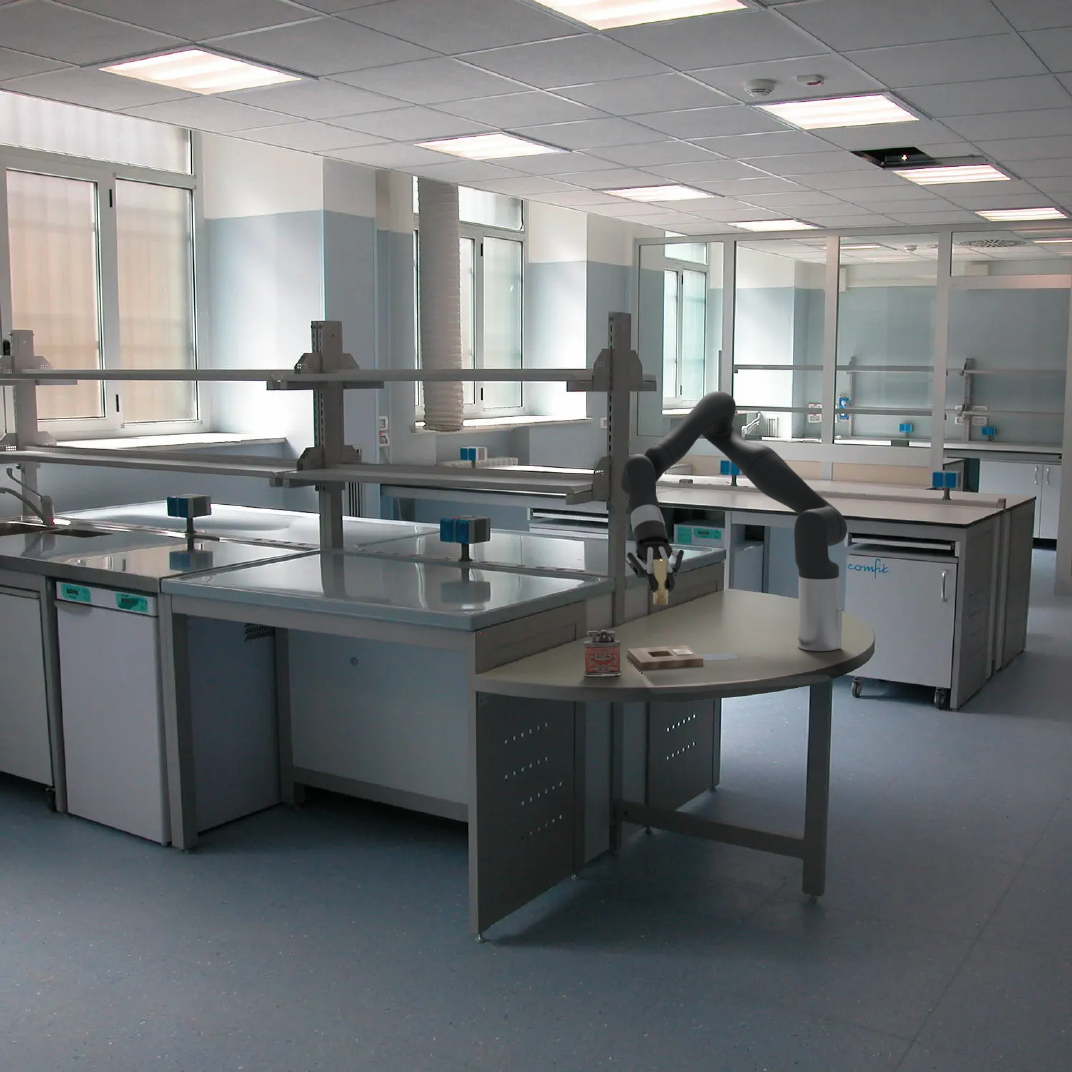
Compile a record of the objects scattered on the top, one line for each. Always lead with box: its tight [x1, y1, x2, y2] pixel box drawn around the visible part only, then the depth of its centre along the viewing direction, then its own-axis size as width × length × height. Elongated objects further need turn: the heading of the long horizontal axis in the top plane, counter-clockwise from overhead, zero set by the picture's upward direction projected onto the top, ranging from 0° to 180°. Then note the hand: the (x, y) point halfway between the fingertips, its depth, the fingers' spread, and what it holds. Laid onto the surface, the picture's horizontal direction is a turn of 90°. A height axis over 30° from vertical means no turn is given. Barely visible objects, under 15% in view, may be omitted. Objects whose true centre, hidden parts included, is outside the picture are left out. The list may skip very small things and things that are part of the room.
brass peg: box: [652, 558, 669, 606], centre depth 251 cm, size 3×3×10 cm
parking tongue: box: [698, 652, 740, 662], centre depth 254 cm, size 8×6×2 cm
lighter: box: [583, 629, 622, 675], centre depth 246 cm, size 8×3×10 cm, turn 92°
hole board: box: [626, 644, 704, 674], centre depth 252 cm, size 14×13×3 cm
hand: (662, 589), depth 249 cm, fingers closed on brass peg, 3 cm apart
